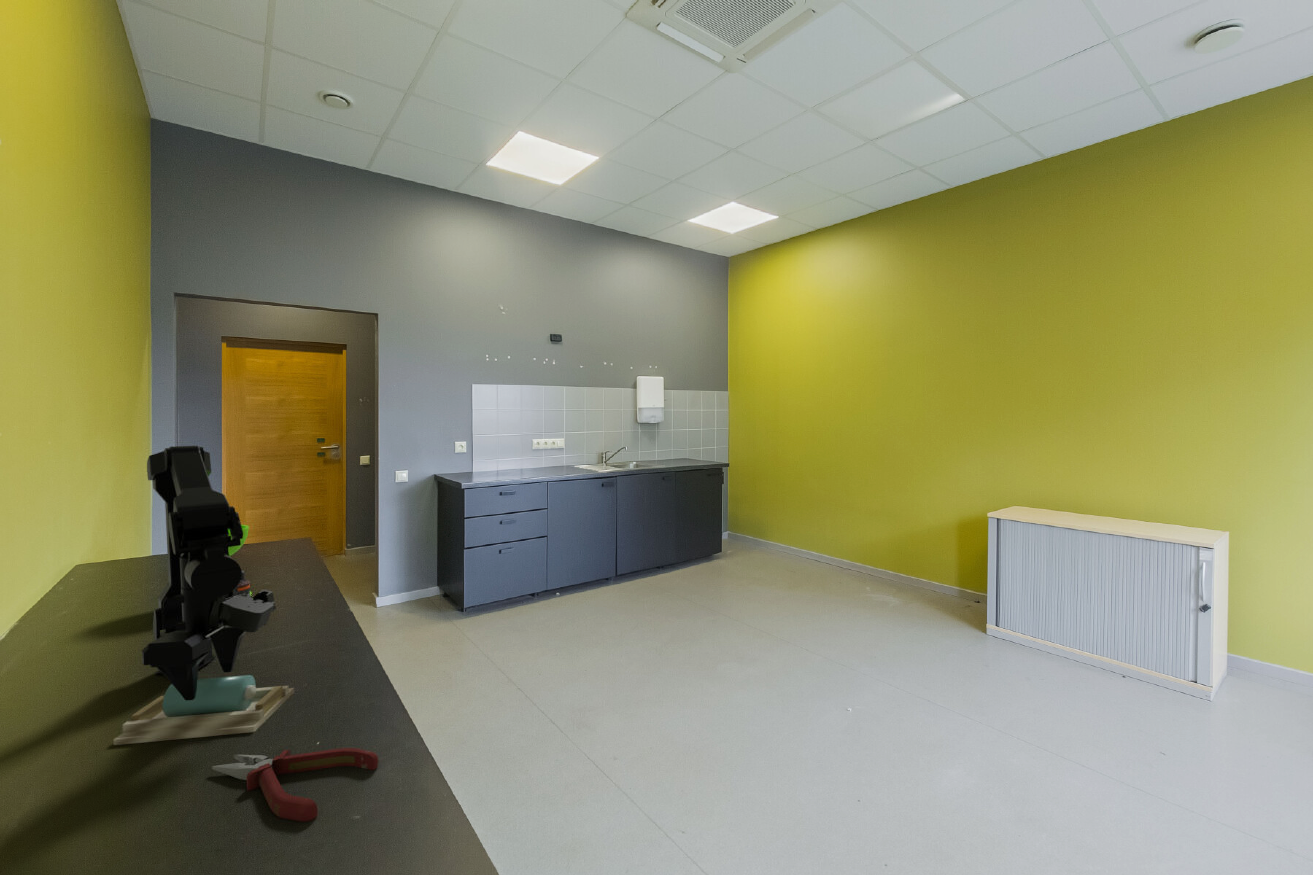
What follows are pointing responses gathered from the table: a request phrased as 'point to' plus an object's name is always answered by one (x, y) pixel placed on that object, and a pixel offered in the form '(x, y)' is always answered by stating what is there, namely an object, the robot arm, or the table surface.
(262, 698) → the wooden tray
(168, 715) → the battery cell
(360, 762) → the pliers
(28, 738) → the table surface
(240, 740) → the table surface
